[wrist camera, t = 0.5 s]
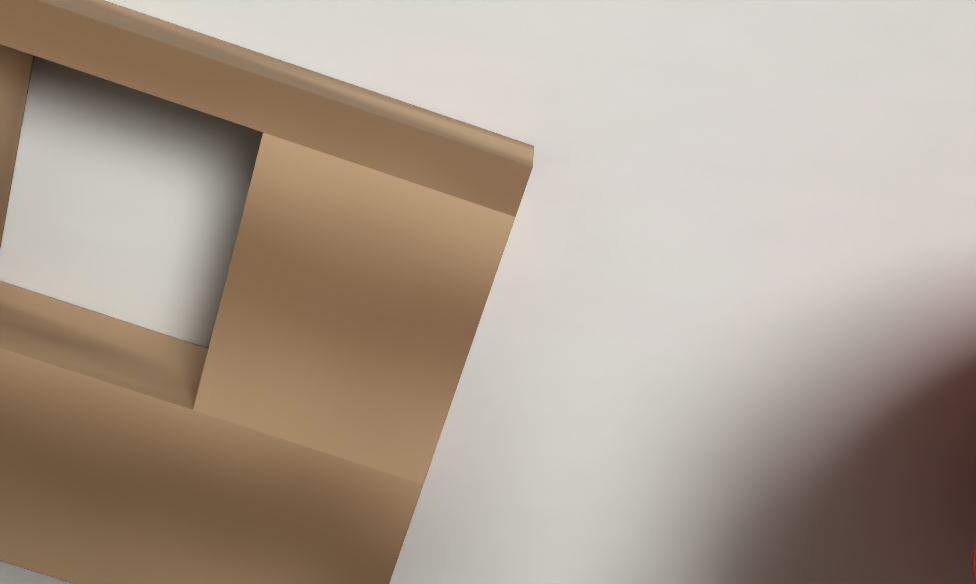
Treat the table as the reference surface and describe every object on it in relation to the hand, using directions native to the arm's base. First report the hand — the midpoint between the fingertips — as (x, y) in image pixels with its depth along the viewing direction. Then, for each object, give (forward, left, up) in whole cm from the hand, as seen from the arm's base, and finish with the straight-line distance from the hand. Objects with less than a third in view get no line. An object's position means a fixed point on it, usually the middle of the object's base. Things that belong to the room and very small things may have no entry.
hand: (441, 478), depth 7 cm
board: (-5, +7, -14) cm, 16 cm away
